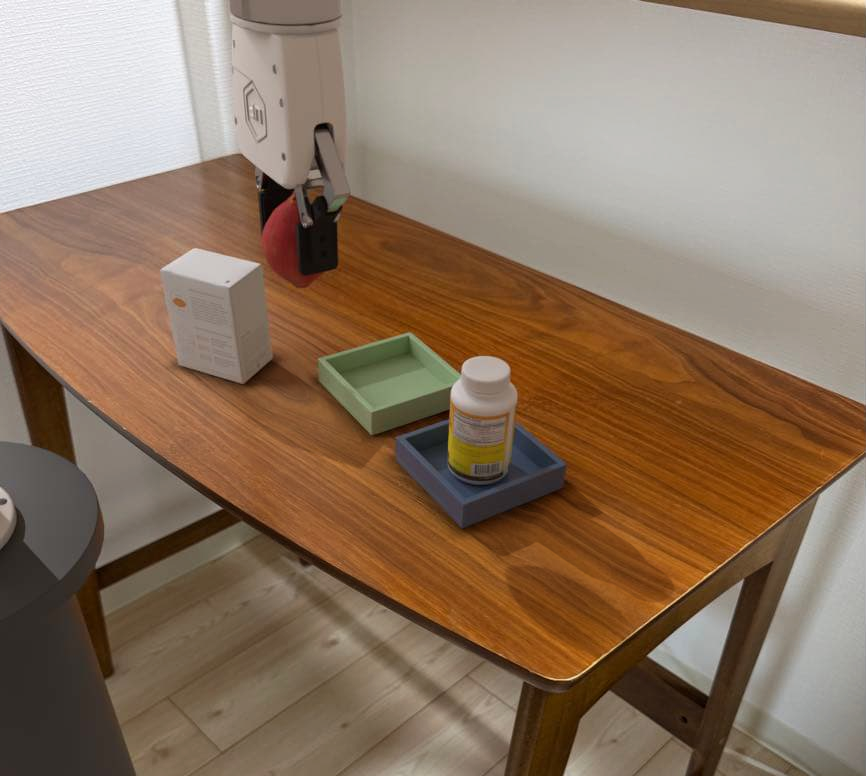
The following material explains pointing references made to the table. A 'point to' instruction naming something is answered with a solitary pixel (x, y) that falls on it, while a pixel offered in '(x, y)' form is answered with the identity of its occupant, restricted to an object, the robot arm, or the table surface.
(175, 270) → the small box
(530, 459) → the slate tray
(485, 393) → the supplement bottle
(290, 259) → the onion
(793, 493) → the table surface
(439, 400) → the green tray
